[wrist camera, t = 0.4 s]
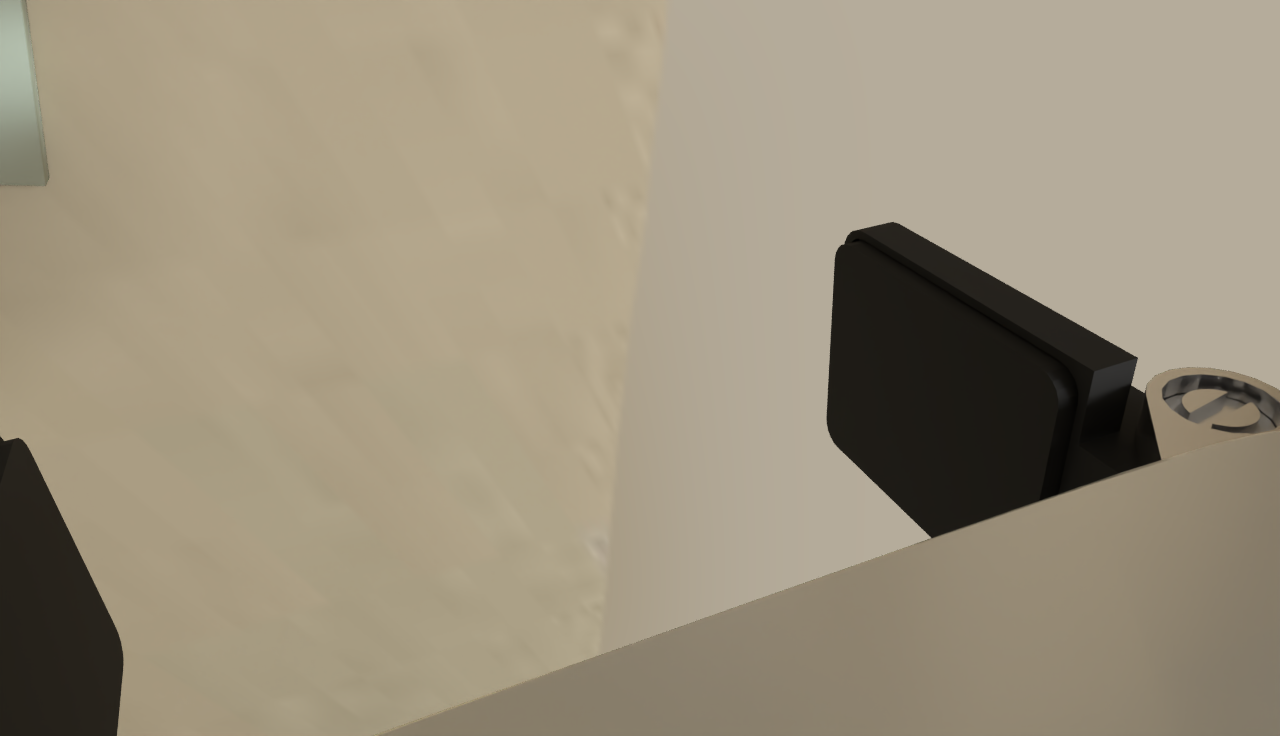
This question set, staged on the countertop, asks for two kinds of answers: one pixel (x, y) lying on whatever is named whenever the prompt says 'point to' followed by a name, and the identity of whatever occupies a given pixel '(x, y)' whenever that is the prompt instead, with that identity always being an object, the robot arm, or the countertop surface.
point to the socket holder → (19, 102)
